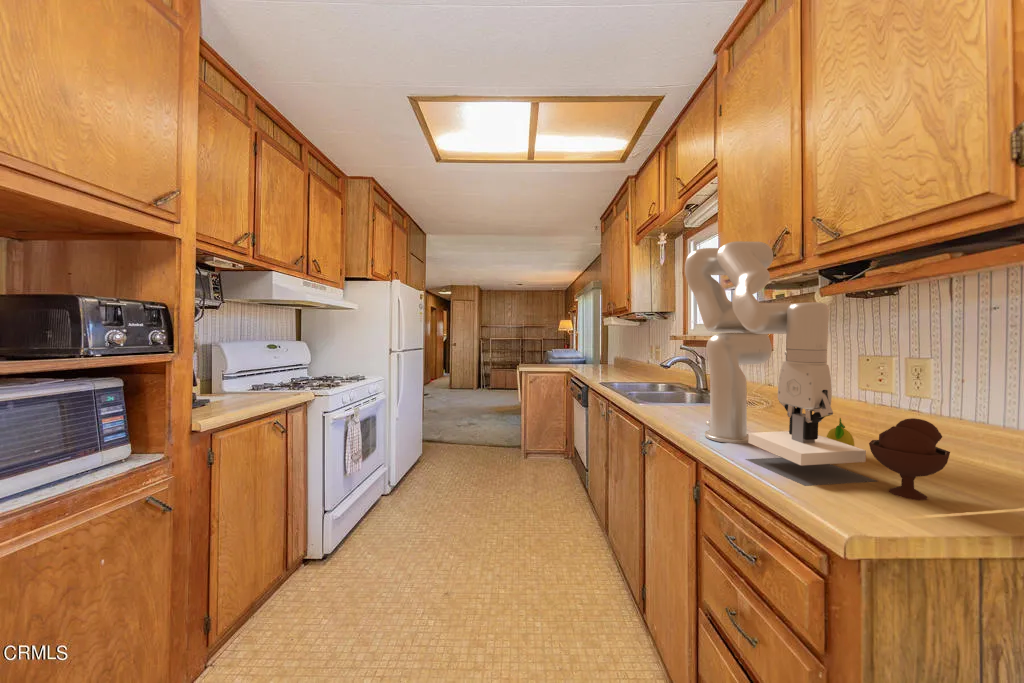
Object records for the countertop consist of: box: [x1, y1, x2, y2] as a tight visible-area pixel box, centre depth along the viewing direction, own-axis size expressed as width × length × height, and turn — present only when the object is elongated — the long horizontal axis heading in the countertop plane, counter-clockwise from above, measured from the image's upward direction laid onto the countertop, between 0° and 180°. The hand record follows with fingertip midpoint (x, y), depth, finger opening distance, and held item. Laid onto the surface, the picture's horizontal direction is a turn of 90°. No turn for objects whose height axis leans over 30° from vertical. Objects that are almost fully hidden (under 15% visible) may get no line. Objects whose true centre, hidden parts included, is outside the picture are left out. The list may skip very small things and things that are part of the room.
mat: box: [744, 456, 879, 487], centre depth 88 cm, size 17×17×1 cm
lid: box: [747, 412, 867, 465], centre depth 89 cm, size 15×15×8 cm
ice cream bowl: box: [868, 417, 951, 501], centre depth 74 cm, size 11×11×15 cm
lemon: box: [826, 417, 855, 447], centre depth 98 cm, size 7×6×10 cm
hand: (803, 436), depth 89 cm, fingers closed on lid, 3 cm apart
